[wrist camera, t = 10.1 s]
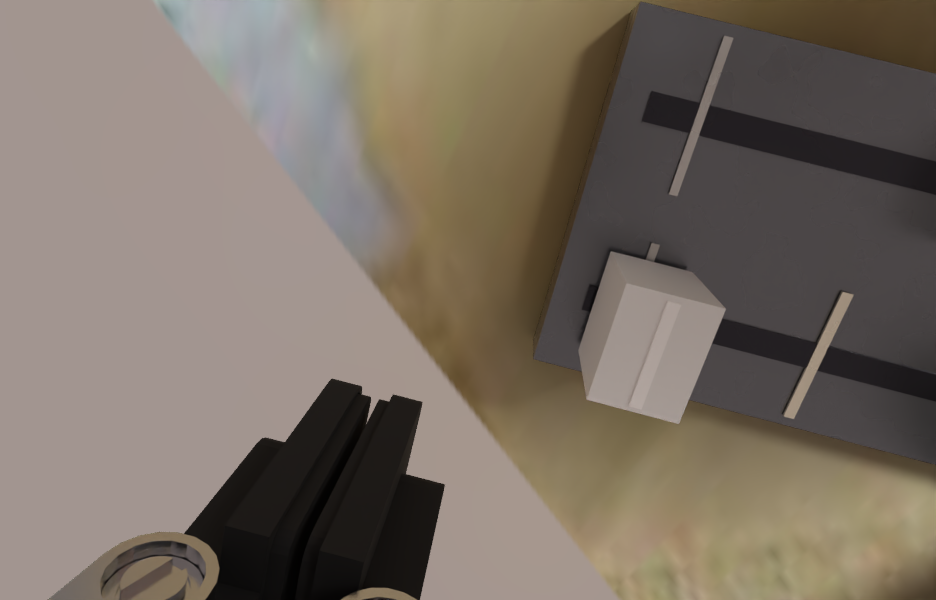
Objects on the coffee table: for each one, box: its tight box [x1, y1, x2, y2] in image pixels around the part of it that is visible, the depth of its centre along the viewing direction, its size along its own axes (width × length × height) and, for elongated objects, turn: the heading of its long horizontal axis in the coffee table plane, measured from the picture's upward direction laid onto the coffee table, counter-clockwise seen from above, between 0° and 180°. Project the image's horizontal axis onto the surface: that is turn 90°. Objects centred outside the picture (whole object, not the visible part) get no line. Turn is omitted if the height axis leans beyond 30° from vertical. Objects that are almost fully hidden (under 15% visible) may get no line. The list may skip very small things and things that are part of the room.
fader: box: [578, 251, 726, 424], centre depth 20 cm, size 4×3×4 cm
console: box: [533, 2, 936, 465], centre depth 22 cm, size 13×20×2 cm, turn 77°
